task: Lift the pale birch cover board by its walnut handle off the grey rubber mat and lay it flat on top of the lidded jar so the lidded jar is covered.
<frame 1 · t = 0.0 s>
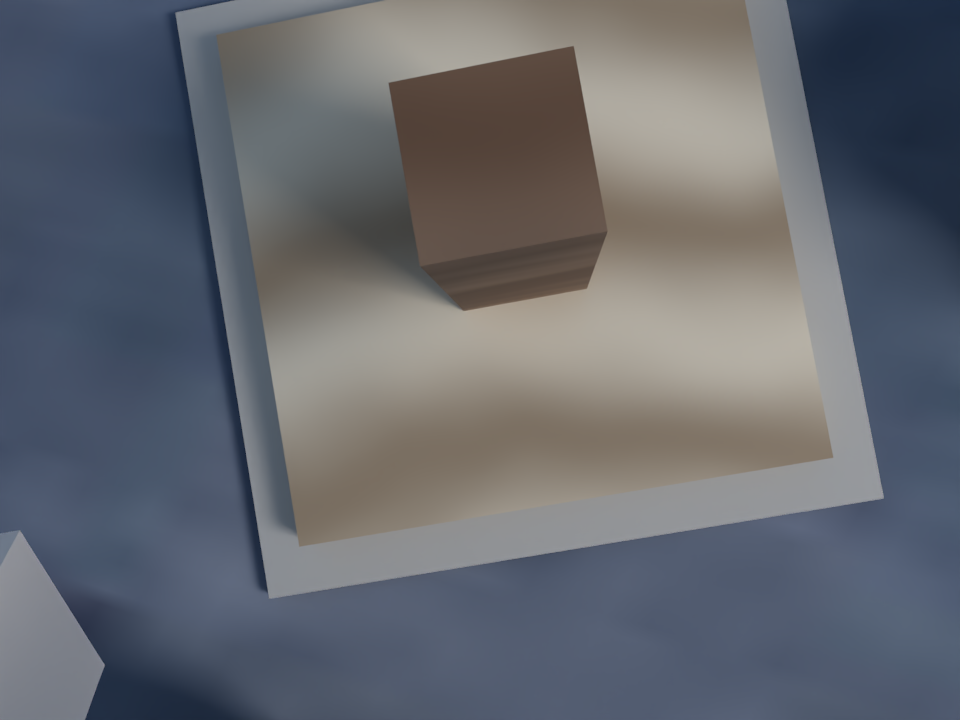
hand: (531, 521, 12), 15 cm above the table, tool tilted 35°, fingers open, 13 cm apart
cover board: (515, 246, 27), resting on mat
mat: (516, 248, 28), on the table
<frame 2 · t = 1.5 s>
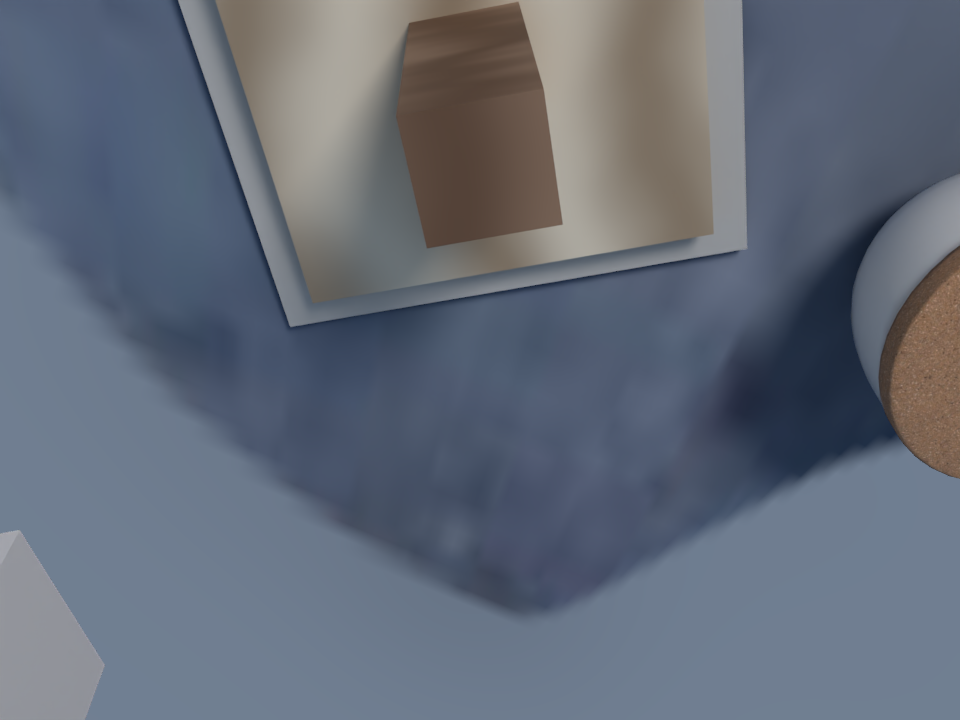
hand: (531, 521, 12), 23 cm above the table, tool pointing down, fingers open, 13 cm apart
cover board: (472, 57, 31), resting on mat
mat: (472, 53, 31), on the table
lidded jar: (946, 250, 36), on the table
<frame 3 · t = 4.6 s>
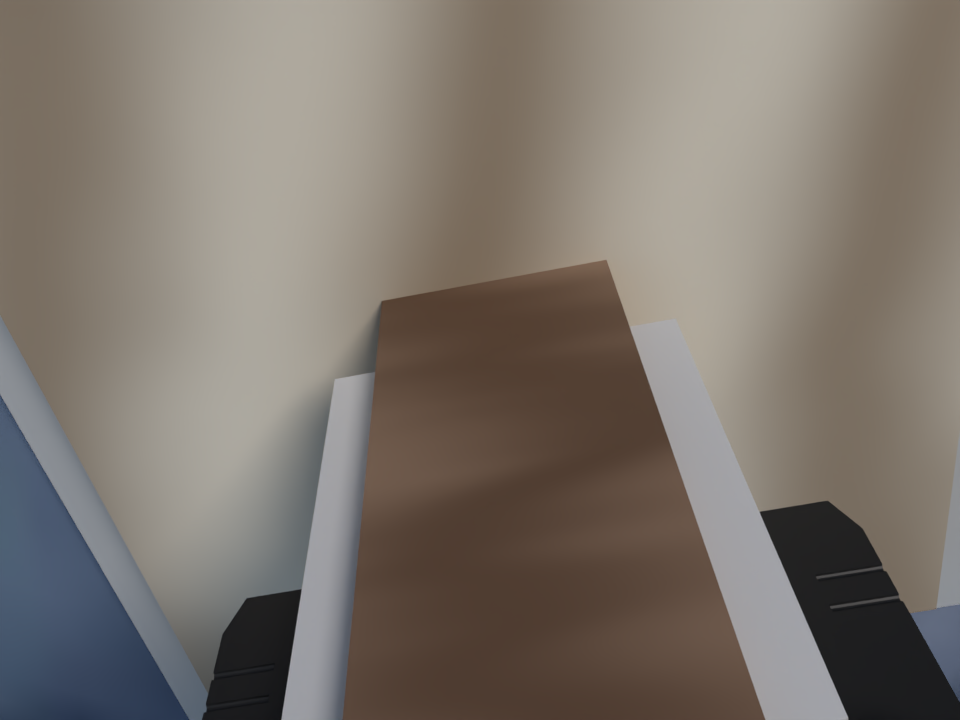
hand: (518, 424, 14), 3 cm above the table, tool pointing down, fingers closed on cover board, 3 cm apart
cover board: (506, 334, 16), resting on mat, touching gripper
mat: (504, 320, 17), on the table
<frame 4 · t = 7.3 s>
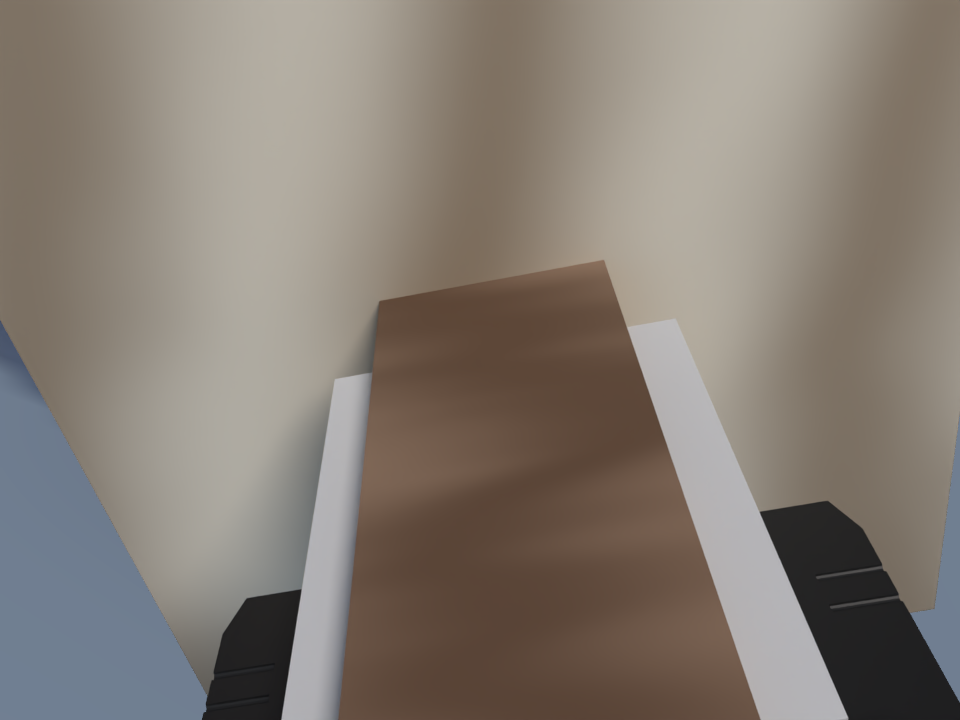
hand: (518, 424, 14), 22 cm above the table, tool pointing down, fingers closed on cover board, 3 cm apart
cover board: (504, 334, 16), point 20 cm above the table, touching gripper
when the fingers open (14 cm above the table, at t = 10.3 s): cover board drops 2 cm, resting on lidded jar.
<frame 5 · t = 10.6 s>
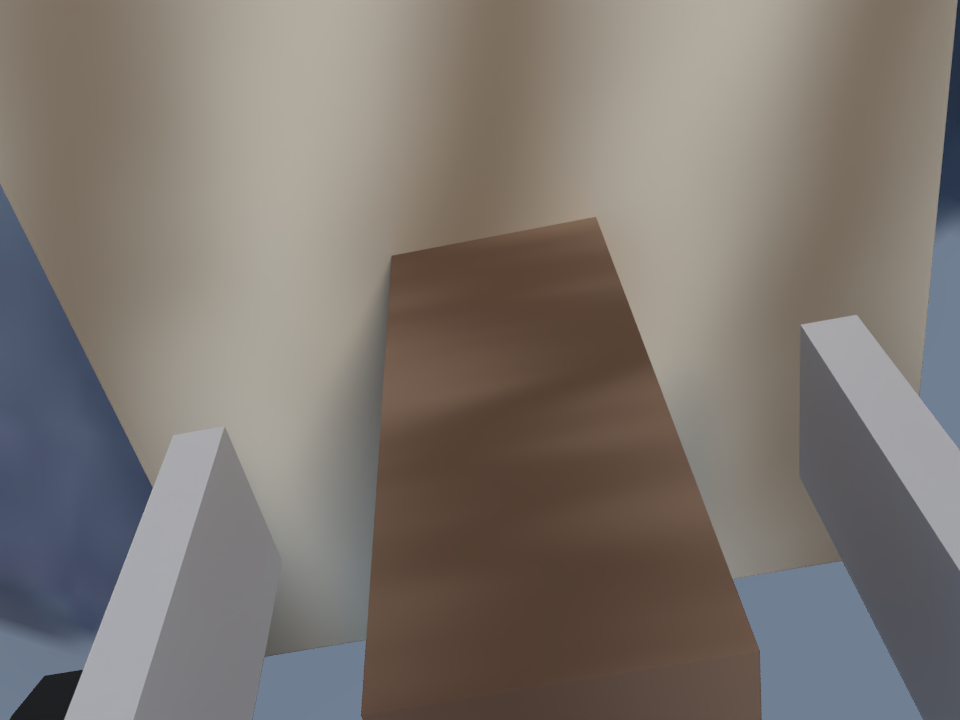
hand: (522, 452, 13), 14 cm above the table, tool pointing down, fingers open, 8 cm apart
cover board: (505, 291, 17), point 9 cm above the table, touching lidded jar
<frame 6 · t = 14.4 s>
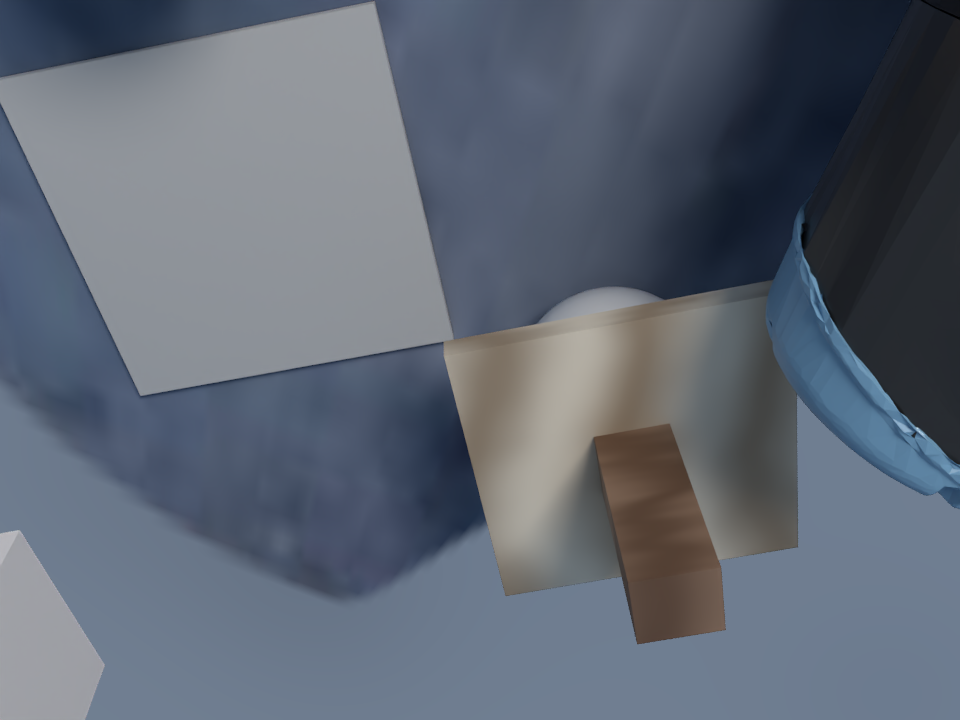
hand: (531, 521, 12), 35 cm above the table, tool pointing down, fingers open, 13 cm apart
cover board: (630, 443, 44), point 9 cm above the table, touching lidded jar
mat: (245, 218, 47), on the table
lidded jar: (599, 337, 52), on the table, touching cover board
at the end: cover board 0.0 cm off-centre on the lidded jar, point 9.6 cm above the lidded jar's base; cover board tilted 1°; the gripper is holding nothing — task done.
